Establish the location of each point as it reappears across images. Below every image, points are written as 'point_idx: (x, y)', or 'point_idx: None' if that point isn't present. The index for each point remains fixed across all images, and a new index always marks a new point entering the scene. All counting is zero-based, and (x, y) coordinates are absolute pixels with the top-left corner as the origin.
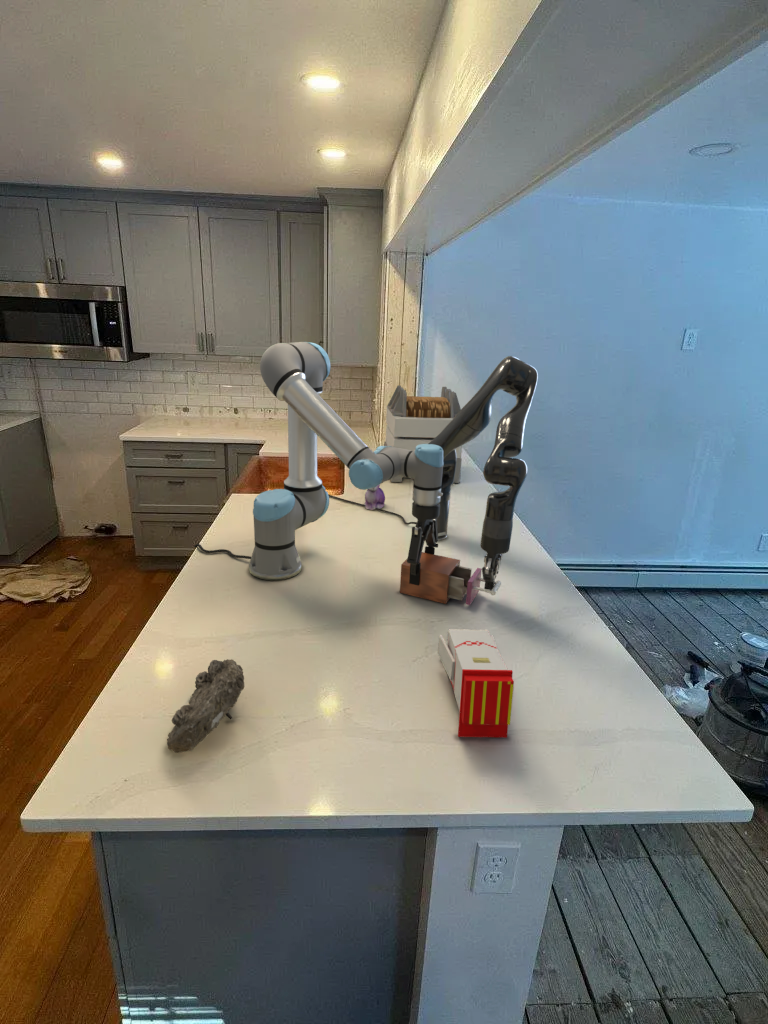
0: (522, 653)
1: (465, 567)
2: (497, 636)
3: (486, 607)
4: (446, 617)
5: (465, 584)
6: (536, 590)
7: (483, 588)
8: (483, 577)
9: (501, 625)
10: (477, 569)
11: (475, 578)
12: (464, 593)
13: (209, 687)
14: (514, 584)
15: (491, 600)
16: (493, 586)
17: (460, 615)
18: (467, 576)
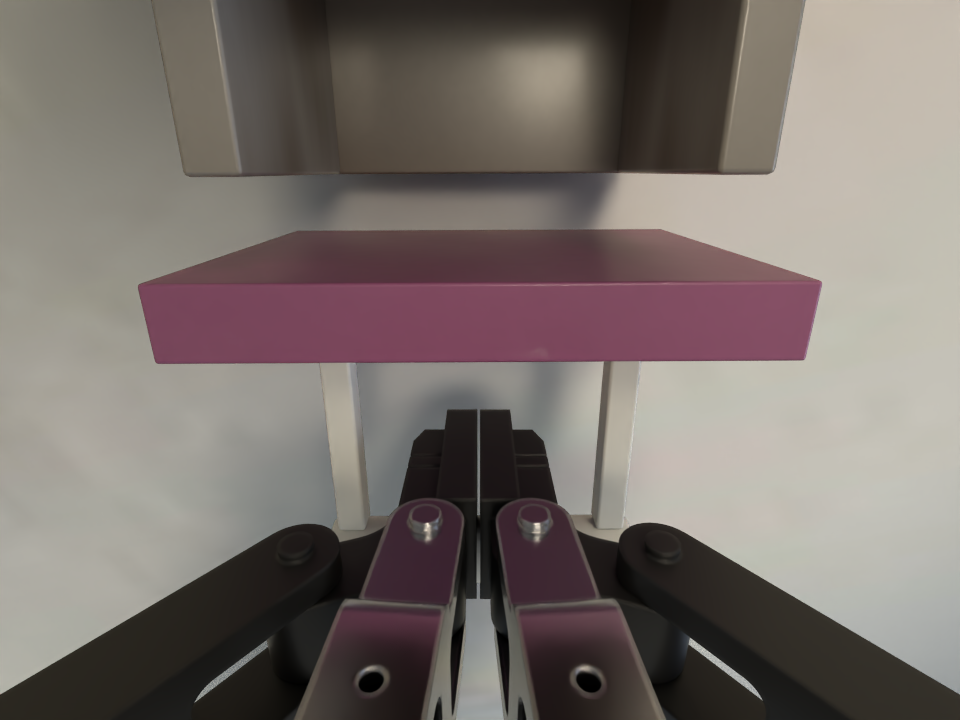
0: (6, 689)
1: (790, 23)
2: (70, 547)
3: (426, 388)
4: (25, 111)
5: (628, 116)
6: (870, 632)
7: (354, 448)
8: (193, 589)
9: (227, 539)
10: (740, 301)
11: (377, 358)
12: (429, 169)
13: None
14: (939, 489)
15: (569, 394)
16: None
17: (154, 226)
18: (667, 124)
